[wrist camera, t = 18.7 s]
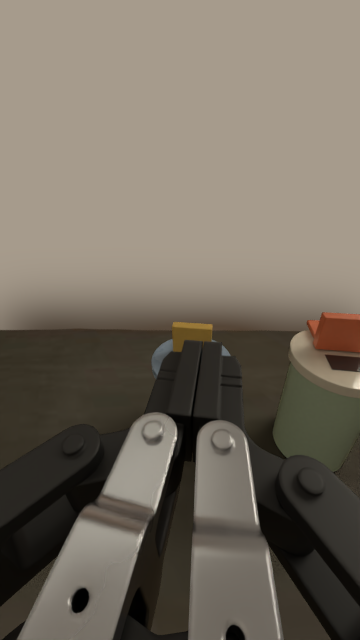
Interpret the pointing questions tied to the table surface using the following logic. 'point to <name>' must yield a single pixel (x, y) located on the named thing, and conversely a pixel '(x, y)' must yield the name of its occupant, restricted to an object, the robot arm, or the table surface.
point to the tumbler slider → (190, 333)
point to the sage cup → (319, 403)
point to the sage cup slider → (336, 332)
